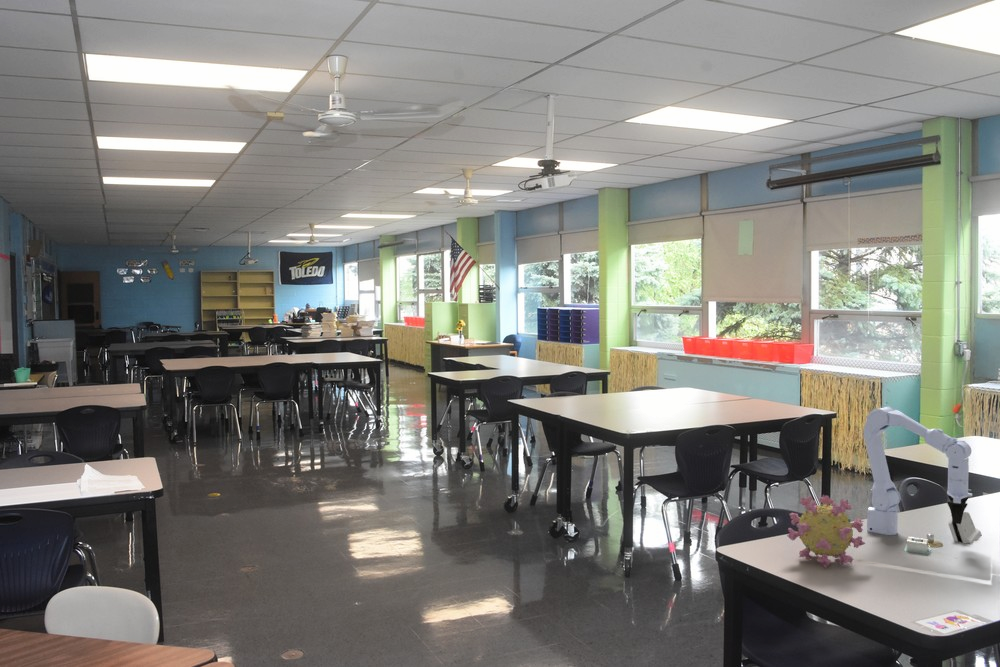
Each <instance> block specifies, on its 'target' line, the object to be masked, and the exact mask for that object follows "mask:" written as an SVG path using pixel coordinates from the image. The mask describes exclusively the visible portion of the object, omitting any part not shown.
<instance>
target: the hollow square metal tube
mask: <svg viewBox="0 0 1000 667" xmlns="http://www.w3.org/2000/svg"><path fill="white" fill-rule="evenodd" d="M914 538H916V537H914V536H907V539H906V545H907V550H908V551H907V552H910V551H915V552H914V553H916V552H922V553H921V554H923V553H927V550H928V548H929V546H928V539H927V538H922V537H919V538H920V539H921V542H917V541H914Z"/></svg>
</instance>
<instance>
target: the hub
mask: <svg viewBox="0 0 1000 667" xmlns="http://www.w3.org/2000/svg"><path fill="white" fill-rule="evenodd" d="M926 539H928V547H929V548H930V547H931V548H941V547H943V543H942V542H941V541H939V540H937V539H935V535H934V534H933V533H926Z"/></svg>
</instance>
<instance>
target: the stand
mask: <svg viewBox="0 0 1000 667" xmlns="http://www.w3.org/2000/svg"><path fill="white" fill-rule="evenodd" d="M920 538H921V537H915V538H914V541H917V542H921V539H920ZM931 548H932V547H931ZM931 548H930V547H928V550H927V553H922V552H915V551H908V550H907V544H906V545H905V547H904V550H903V551H905V552H911V553H917V554H925V555H930V551H931Z"/></svg>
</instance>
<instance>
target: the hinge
mask: <svg viewBox="0 0 1000 667" xmlns="http://www.w3.org/2000/svg"><path fill="white" fill-rule="evenodd" d="M948 528H949V530H950V533H951V535H952V539H953V541H954V542H957V543H960V542H961V543H964V544H970V545H972V544H973V543H974V542H977V541H978V540H979V539H980V538H981V536H983V535H982V534H983V533H982V532H981V530H980V529H977V528H976V526H975V524H974V522H973V518H972V517H971V514H970V513H969V512H967V511H964V512H963V517H962V521H961V524H956V523H953V521H952V515H950V517H949V519H948Z"/></svg>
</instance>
